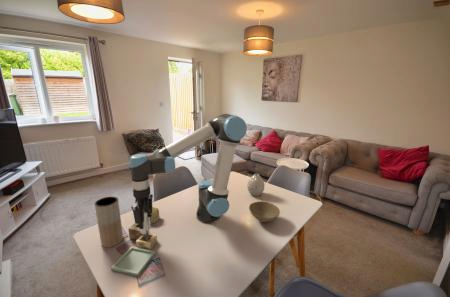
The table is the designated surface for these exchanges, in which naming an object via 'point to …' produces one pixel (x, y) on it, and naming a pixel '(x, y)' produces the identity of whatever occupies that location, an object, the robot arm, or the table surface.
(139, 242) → the block
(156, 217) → the decorative item
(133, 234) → the block
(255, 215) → the bowl
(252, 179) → the vase
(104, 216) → the planter
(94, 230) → the table surface
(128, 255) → the tray
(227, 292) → the table surface
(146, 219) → the cylinder
